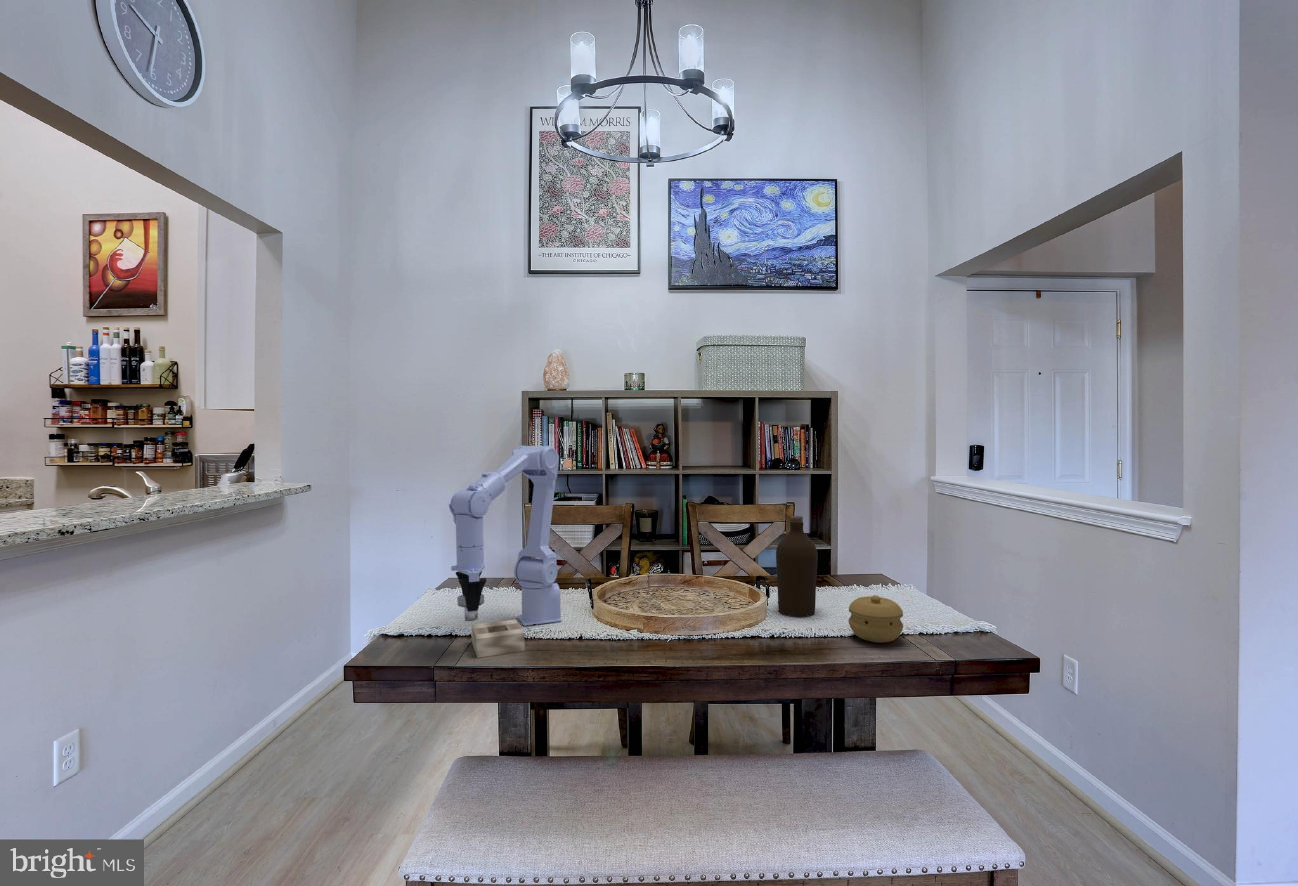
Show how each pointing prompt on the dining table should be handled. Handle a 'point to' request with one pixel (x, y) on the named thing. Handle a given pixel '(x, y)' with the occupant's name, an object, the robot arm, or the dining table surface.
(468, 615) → the grey metal knob
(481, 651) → the maple block
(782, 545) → the olive oil
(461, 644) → the dining table surface
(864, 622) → the lidded pot
